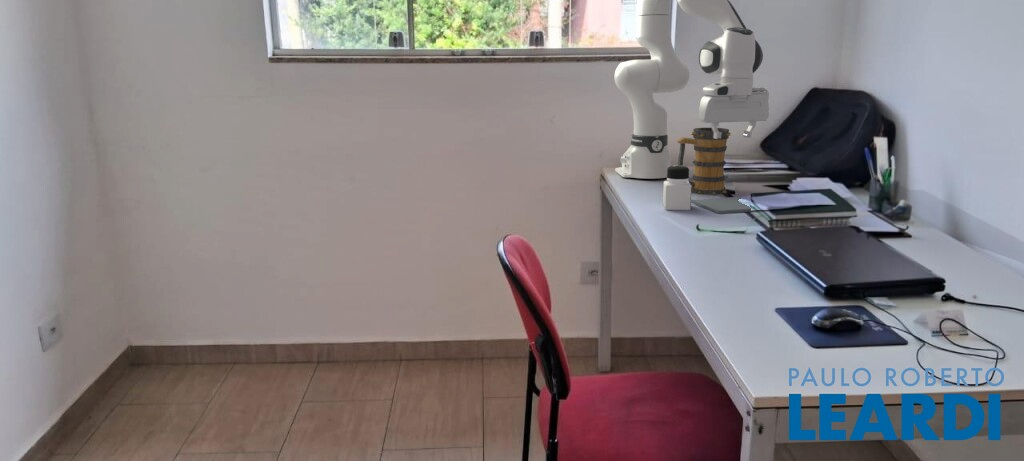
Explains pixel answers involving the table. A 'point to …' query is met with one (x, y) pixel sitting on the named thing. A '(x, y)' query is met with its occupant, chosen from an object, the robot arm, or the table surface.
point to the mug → (707, 160)
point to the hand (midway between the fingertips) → (732, 137)
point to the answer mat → (722, 205)
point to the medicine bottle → (677, 189)
